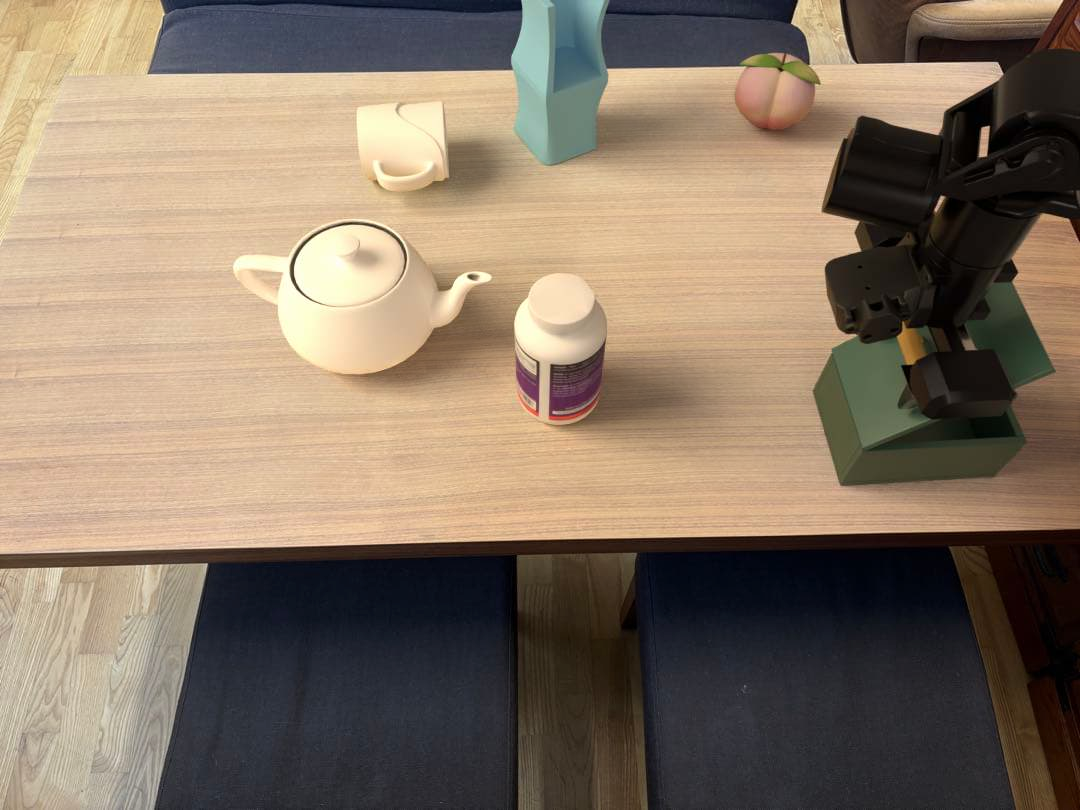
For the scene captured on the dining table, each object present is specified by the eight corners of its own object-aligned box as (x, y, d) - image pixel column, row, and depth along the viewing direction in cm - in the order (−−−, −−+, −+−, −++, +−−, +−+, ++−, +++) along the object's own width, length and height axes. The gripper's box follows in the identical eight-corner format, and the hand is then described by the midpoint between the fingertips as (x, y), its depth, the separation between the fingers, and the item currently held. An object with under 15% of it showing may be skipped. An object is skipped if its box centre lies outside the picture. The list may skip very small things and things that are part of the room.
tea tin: (956, 383, 83) (985, 345, 78) (994, 477, 78) (1027, 442, 72) (812, 390, 82) (831, 353, 77) (839, 485, 77) (862, 451, 72)
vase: (544, 168, 99) (547, 8, 82) (512, 129, 103) (509, -32, 86) (602, 146, 101) (616, -14, 85) (568, 109, 105) (576, -52, 88)
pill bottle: (609, 373, 83) (623, 275, 71) (585, 439, 79) (595, 347, 67) (532, 351, 85) (532, 251, 73) (504, 415, 81) (499, 320, 68)
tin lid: (1005, 267, 69) (986, 241, 66) (1056, 372, 63) (1037, 348, 60) (834, 351, 77) (810, 331, 74) (865, 450, 72) (841, 433, 69)
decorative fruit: (806, 110, 105) (830, 37, 97) (800, 153, 101) (824, 81, 93) (731, 97, 107) (748, 24, 98) (721, 139, 102) (738, 66, 94)
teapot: (229, 376, 83) (187, 294, 72) (277, 258, 91) (245, 170, 81) (482, 406, 81) (475, 326, 71) (507, 283, 90) (504, 196, 79)
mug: (368, 143, 101) (357, 86, 95) (447, 139, 102) (441, 82, 95) (367, 215, 95) (354, 159, 88) (451, 211, 95) (445, 154, 89)
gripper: (821, 149, 62) (771, 289, 76) (896, 353, 52) (823, 473, 65) (969, 144, 63) (893, 283, 76) (1071, 345, 53) (963, 466, 66)
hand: (890, 370), depth 71 cm, fingers open, 7 cm apart
